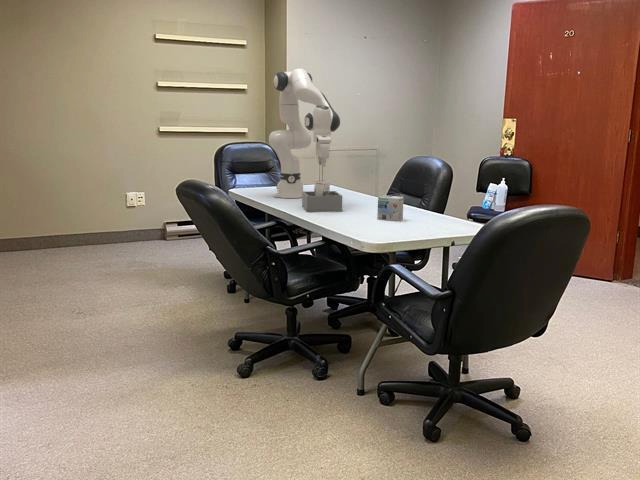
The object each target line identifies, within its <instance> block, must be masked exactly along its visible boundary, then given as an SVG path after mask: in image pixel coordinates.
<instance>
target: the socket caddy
mask: <svg viewBox="0 0 640 480" xmlns="http://www.w3.org/2000/svg"><path fill="white" fill-rule="evenodd" d="M301 198H302V199H301V202H302V203H301V204H302V205H301V207H302V208H303V210H304V211H305V212H306V213H321V212H323V213H325V212H331V213H332V212H336V213H337V212H343V195H342V194H341V193H339V192H337V190H330V193H329V196H314V191H312V190H311V191H303V192H302V197H301Z"/></svg>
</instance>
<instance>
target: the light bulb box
mask: <svg viewBox="0 0 640 480" xmlns="http://www.w3.org/2000/svg"><path fill="white" fill-rule="evenodd" d="M404 201H405V199H404V196H397V195H395V196H394V195H384V194H383V195H380V196H378V197H377V215H376V217H377V220H382V221H391V222H399V221H402V220H403V219H404Z"/></svg>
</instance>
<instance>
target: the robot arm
mask: <svg viewBox="0 0 640 480" xmlns="http://www.w3.org/2000/svg"><path fill="white" fill-rule="evenodd" d="M273 85H274V88H275V89H276V91H278V92H279V99H278V101H279V102H278V103H279V105H278V106H279V109H278V110H279V119H280V120H281V122H282V123H284V124H286V126H287V127H288V129H279V130H274V131H271V132H270V134H269V136H268V144H269V145H270V147H271V148H272V149H273V150H274V151H275V152H276V154H277V155H278V157H279V161H280V174H279V177H280V180H279V181H278V182H277V183H278V184H276V189H277V190H276V193H275V194H274V198H280V199H281V198H282V199H299V198H302V192H304V182H303V181H302V180H301V177H302V176H301V175H302V174H301V170H300V169H301V168H300V166H301V161H300V159H299V158H298V157H297V156H296V155H294V154H293V153H292V150H300V149H306V148H309V147H310V145H311V143H312V135H311V134H310V132H313V142H315V156H317V160H318V165H319V166H321V167H322V168H326V163H327V159H329V157H330V149H331V143H332V132H335V131H337V130H338V129H339V127H340V125H341V118H340V116H339V114H338V113H337V112H336V111H335V110H334V108H333V107H332V105H331V104H330V102H329V100H328V99H327V97H326V95H325V94H324V93H323V92H322V91H321V90H319V89H318V88H317V87H316V86H315V85H314V84H313V77H312V75H311V74H310V72H307V71H306V70H305V69H303V68H301V67H300V68H294V69H293V70H292V71H278V72H276V73H275V75H274V77H273ZM299 101H300V102H304V103H307V104H312V105H315V106H314V110H312V111H311V112H308V113H307V114H306V115H305V117H304V126H303V124H302V122H301V118H300V110H299V108H300V107H299ZM309 131H310V132H309Z"/></svg>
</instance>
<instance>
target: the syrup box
mask: <svg viewBox="0 0 640 480" xmlns="http://www.w3.org/2000/svg"><path fill="white" fill-rule="evenodd" d="M330 185H331V183H330V181H327V180H317V181H314V188H313V190H314V196H329V193H330V191H331V190H330Z"/></svg>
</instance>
